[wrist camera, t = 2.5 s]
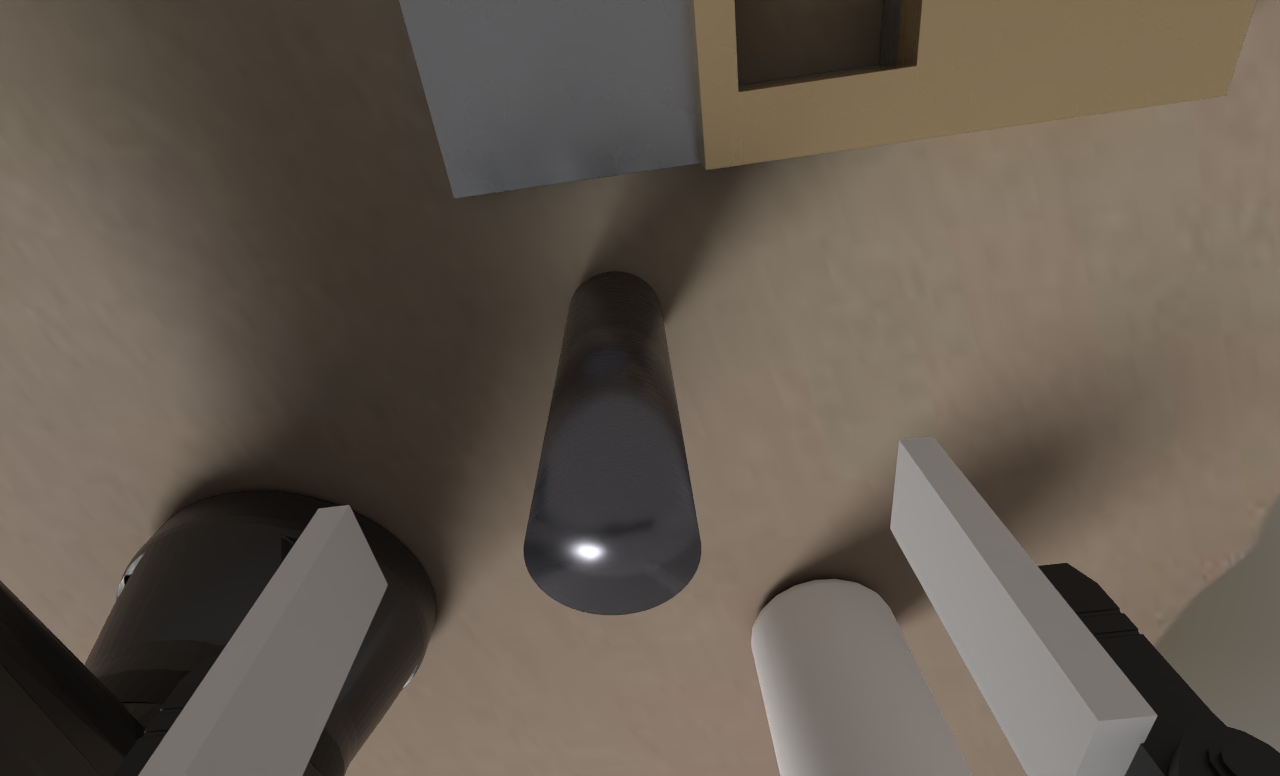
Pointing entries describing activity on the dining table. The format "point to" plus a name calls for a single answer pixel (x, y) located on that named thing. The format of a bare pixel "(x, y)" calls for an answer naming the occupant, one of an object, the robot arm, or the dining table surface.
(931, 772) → the potion bottle
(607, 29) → the tan holed block
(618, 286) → the pin
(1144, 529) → the dining table surface
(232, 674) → the robot arm
